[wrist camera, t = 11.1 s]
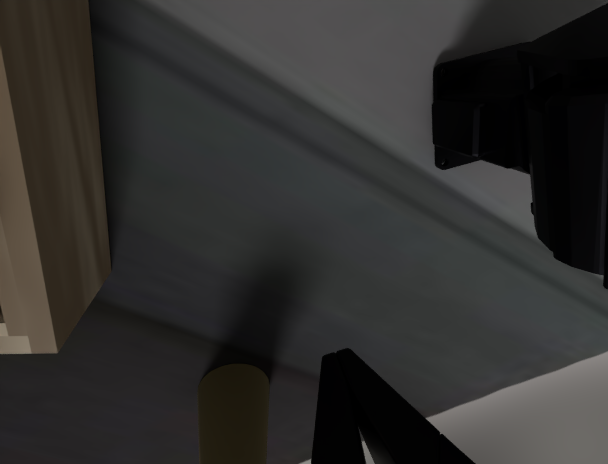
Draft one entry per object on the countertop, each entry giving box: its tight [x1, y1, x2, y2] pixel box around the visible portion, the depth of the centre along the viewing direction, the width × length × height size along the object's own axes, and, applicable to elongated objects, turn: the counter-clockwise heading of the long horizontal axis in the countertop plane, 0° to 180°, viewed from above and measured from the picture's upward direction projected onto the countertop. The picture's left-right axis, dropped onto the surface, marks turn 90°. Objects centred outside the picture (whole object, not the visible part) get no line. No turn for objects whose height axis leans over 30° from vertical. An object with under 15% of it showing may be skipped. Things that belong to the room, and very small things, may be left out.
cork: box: [197, 364, 269, 464], centre depth 22 cm, size 6×6×11 cm
